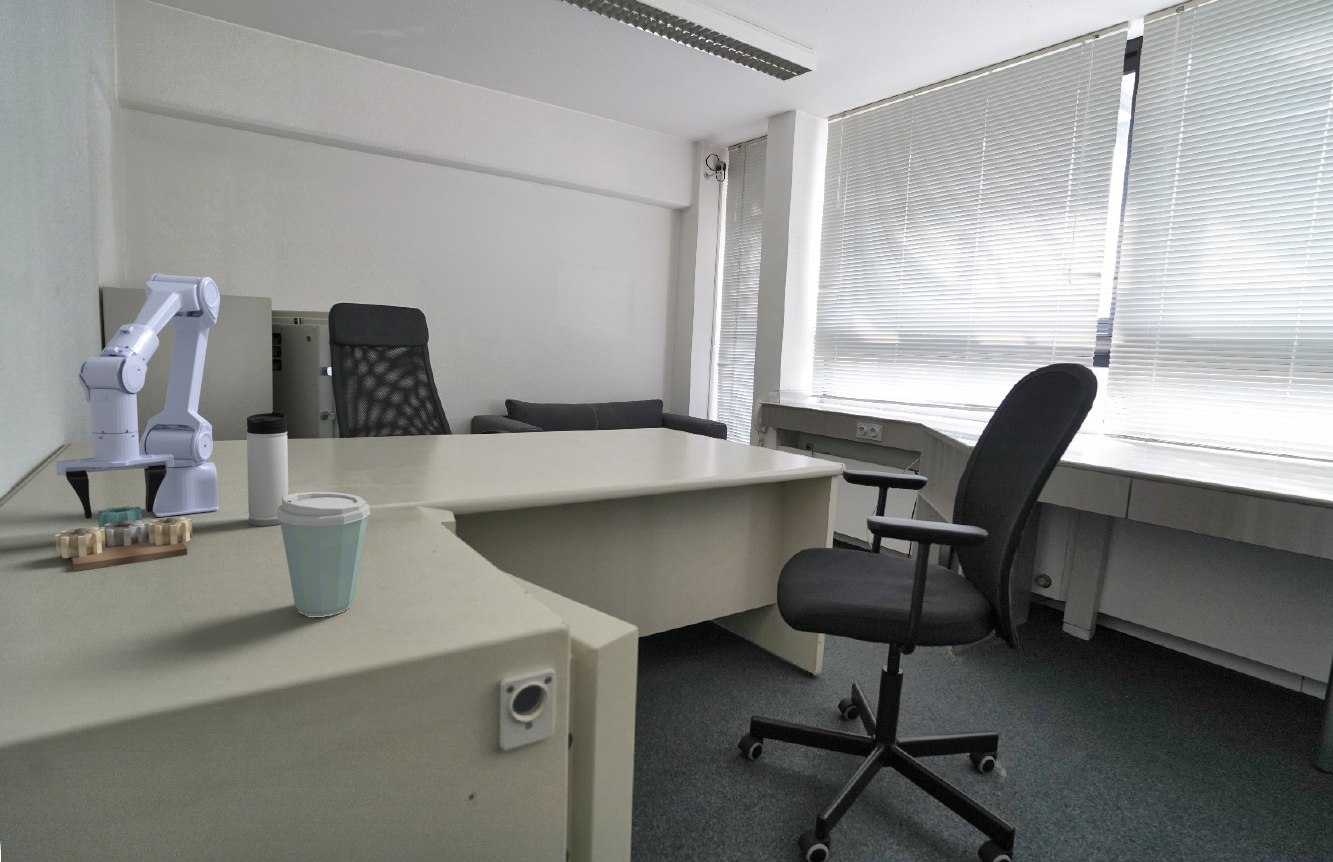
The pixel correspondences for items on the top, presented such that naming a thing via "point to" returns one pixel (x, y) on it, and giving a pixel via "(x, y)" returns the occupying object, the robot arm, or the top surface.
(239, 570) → the top surface
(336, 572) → the disposable coffee cup
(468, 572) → the top surface
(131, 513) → the teal gear
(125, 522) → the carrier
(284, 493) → the travel mug
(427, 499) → the top surface
